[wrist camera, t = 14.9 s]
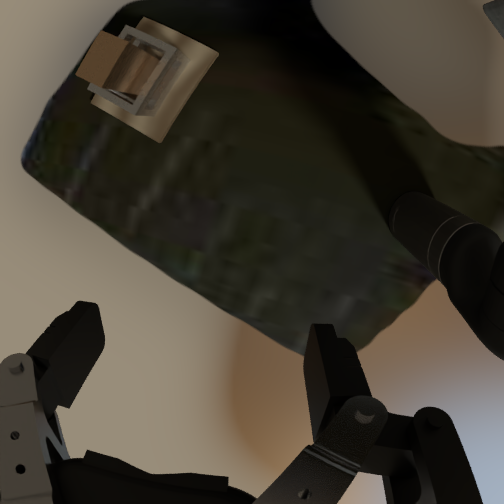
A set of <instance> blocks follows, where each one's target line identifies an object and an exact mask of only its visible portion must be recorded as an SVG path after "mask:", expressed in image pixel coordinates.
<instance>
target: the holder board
mask: <svg viewBox="0 0 504 504" xmlns="http://www.w3.org/2000/svg"><path fill="white" fill-rule="evenodd" d="M135 29H137V30H139V31H142V32H144V33H146V34H148V35H150V36H153V37H155V38H157V39H159V40H161V41H163V42H165V43H167V44H169V45H171V46H173V47H175V48H177V49H178V50H180V51H181V52H182V53H183V54H184V55H185V56H186V57H187V58H188V59H189V60H191V61H190V62H189V64H188V65H187V67H186V68H185V70H184V71H183V73H182V74H181V76H180V77H179V79H178V80H177V82H176V83H175V85H174V86H173V88H172V89H171V91H170V92H169V94H168V96H167V97H166V99H165V100H164V102H163V104H162V105H161V107H160V108H159V110H158V112H157V113H156V115H155V117H152V116H135V115H133V114H131V113H129V112H128V111H126V110H124V109H122V108H121V107H119V106H117V105H115V104H114V103H112V102H110V101H108V100H106V99H105V98H103V97H101V96H99V95H97V94H95V96H94V97H93V99H92V101H91V103H92V104H93V105H95V106H97V107H99V108H101V109H102V110H104V111H106V112H107V113H109V114H111V115H113V116H114V117H116V118H118V119H120V120H121V121H123V122H125V123H126V124H128V125H130V126H132V127H133V128H135V129H137V130H138V131H140V132H142V133H143V134H145V135H147V136H148V137H150V138H152V139H153V140H155V141H157V142H158V143H161V142H162V141H163V139H164V137H165V136H166V134H167V132H168V131H169V129H170V127H171V126H172V124H173V122H174V121H175V119H176V117H177V116H178V114H179V113H180V111H181V109H182V108H183V106H184V105H185V103H186V102H187V100H188V99H189V97H190V96H191V94H192V93H193V91H194V90H195V88H196V87H197V85H198V84H199V82H200V81H201V79H202V78H203V76H204V75H205V73H206V72H207V71H208V69H209V68H210V66H211V65H212V64H213V62H214V61H215V59H216V58H217V57H218V55H219V53H218V52H216V51H214V50H213V49H211V48H209V47H207V46H205V45H203V44H201V43H199V42H197V41H195V40H193V39H191V38H189V37H187V36H185V35H183V34H181V33H179V32H177V31H175V30H173V29H170V28H168V27H166V26H164V25H162V24H159V23H157V22H155V21H153V20H150V19H148V18H146V17H143V18H142V20H141V21H140V22H139V24H138V25H137V27H136V28H135ZM135 40H136V39H134V38H132V39H131V41H130V43H131V44H133V43H134V41H135ZM145 52H147V53H149V54H150V55H152V56H154V57H155V58H157V59H158V60H161V58H162V57H163V56H164V54H162V53H160V52H158V51H156V50H154V49H152V48H150V47H148V46H147V48H146V49H145ZM174 62H175V61H174ZM172 65H173V64H172ZM170 68H171V67H170ZM168 71H169V70H168ZM166 74H167V73H166ZM164 77H165V76H164ZM162 80H163V79H162ZM161 82H162V81H161ZM161 82H160V83H161ZM159 85H160V84H159ZM157 88H158V87H157ZM155 91H156V90H155ZM154 93H155V92H154ZM127 94H129V95H131V96H132V97H134V98H137V97H138V95H135V94H130V93H127ZM152 96H153V95H152ZM151 98H152V97H151ZM151 98H150V99H151ZM149 101H150V100H149ZM147 104H148V103H147Z"/></svg>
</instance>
